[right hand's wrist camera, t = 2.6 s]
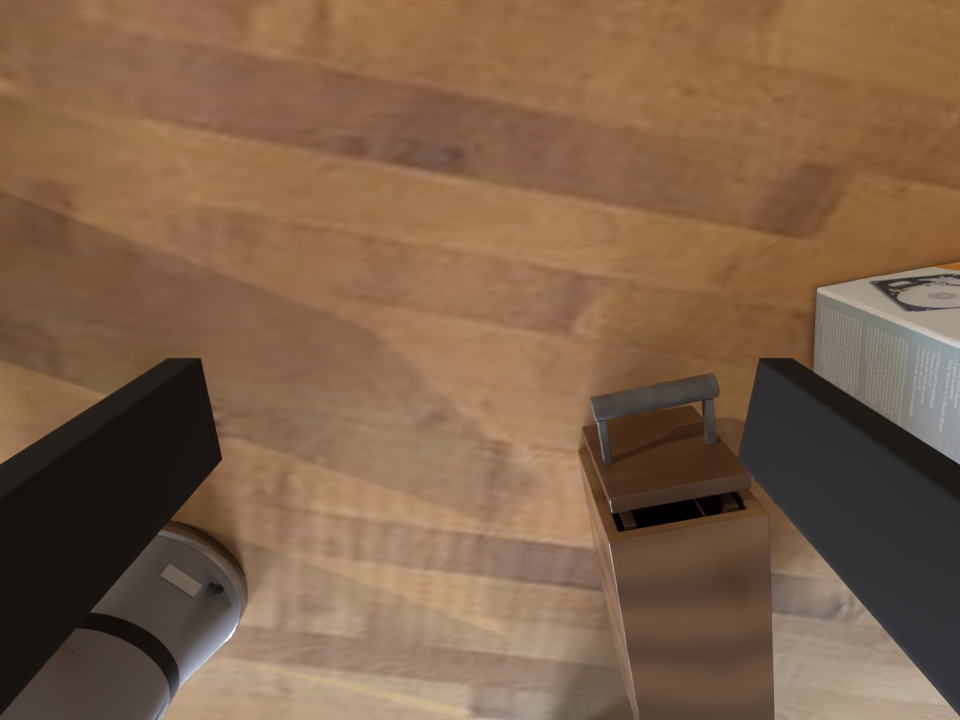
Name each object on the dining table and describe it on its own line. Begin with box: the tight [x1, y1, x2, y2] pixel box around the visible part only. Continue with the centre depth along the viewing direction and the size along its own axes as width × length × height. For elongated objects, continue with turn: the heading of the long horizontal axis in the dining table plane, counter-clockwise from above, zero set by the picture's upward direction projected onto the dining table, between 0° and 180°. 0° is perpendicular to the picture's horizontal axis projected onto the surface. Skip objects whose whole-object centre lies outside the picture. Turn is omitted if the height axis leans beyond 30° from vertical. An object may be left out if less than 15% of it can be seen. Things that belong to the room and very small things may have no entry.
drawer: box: [582, 373, 751, 532], centre depth 39 cm, size 26×9×10 cm, turn 13°
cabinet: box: [578, 448, 774, 720], centre depth 41 cm, size 22×10×11 cm, turn 13°
